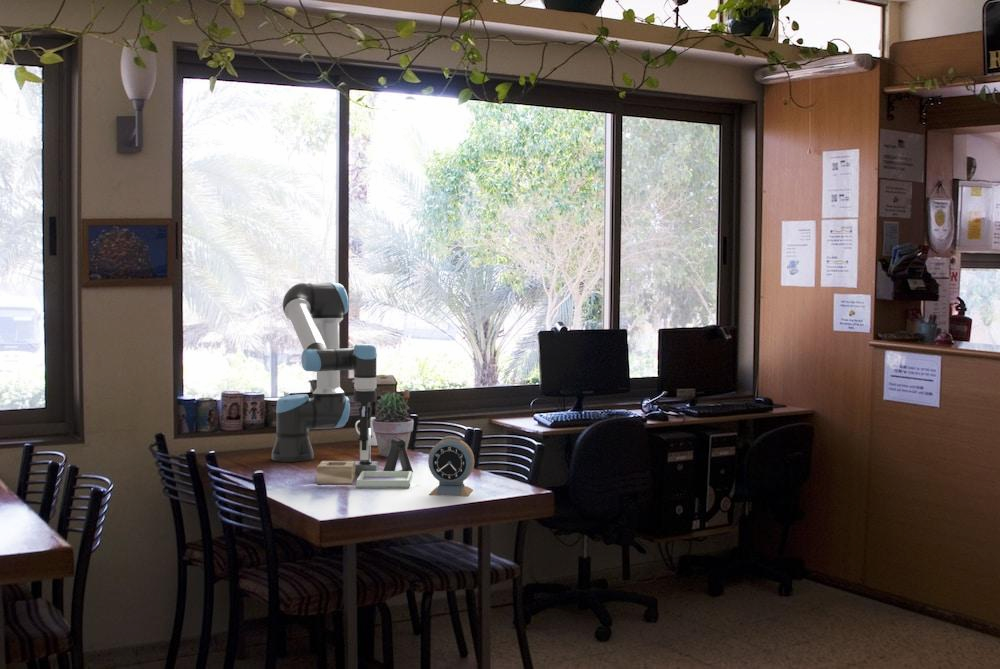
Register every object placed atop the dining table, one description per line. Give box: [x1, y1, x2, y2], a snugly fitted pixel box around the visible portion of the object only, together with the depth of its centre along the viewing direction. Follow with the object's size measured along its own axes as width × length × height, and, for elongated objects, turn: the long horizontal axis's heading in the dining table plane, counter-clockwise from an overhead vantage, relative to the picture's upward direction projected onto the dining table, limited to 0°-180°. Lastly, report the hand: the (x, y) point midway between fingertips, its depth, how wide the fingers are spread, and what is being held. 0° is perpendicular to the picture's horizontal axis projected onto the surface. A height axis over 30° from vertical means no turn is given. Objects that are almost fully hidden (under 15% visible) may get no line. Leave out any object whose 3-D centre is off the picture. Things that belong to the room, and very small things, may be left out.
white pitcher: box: [354, 417, 378, 447], centre depth 440 cm, size 12×8×10 cm, turn 110°
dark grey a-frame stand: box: [382, 438, 414, 473], centre depth 375 cm, size 9×6×12 cm, turn 115°
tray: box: [356, 470, 413, 489], centre depth 359 cm, size 17×17×2 cm
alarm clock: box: [427, 435, 475, 497], centre depth 344 cm, size 14×10×18 cm
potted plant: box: [371, 389, 418, 458], centre depth 415 cm, size 18×20×25 cm
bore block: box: [316, 460, 356, 486], centre depth 360 cm, size 11×11×6 cm
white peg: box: [359, 428, 372, 464], centre depth 373 cm, size 4×4×15 cm
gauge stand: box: [354, 460, 379, 476], centre depth 373 cm, size 8×8×4 cm
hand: (365, 458), depth 373 cm, fingers open, 4 cm apart
